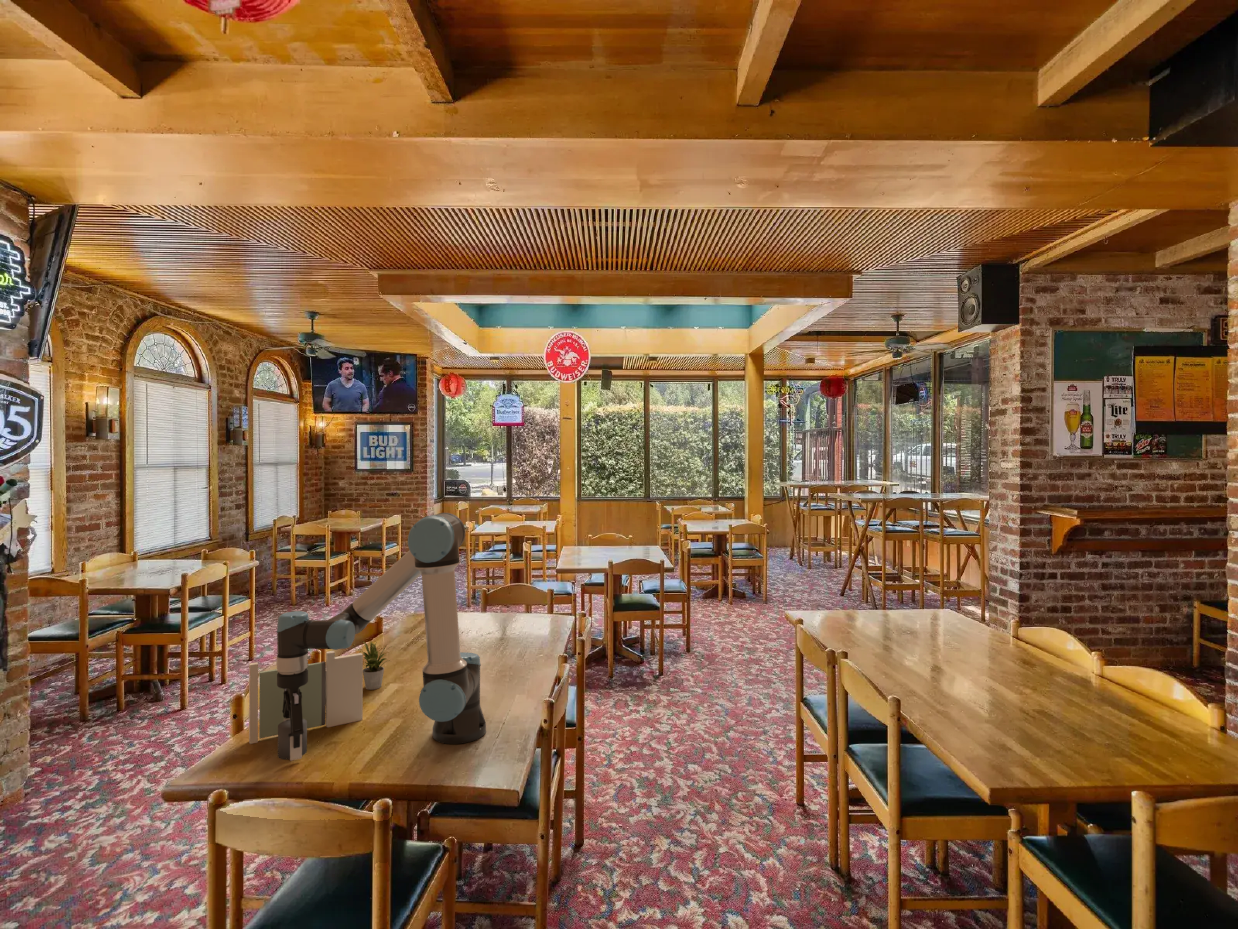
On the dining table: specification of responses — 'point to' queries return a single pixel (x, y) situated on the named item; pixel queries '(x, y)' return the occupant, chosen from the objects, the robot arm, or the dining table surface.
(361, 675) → the door frame
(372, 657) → the house plant
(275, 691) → the door
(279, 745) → the dark brown cylinder
